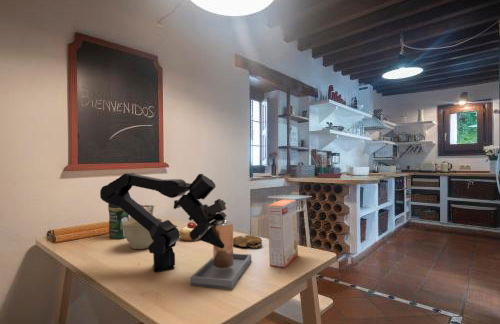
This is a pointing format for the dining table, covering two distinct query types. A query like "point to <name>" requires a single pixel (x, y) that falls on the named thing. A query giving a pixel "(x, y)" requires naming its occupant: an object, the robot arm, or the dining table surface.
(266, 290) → the dining table surface
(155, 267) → the robot arm
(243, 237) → the decorative rock
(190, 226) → the pastry
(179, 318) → the dining table surface
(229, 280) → the gray tray
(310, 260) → the dining table surface
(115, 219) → the coffee jar
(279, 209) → the cracker box
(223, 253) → the copper cylinder
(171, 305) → the dining table surface
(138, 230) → the planter bowl
